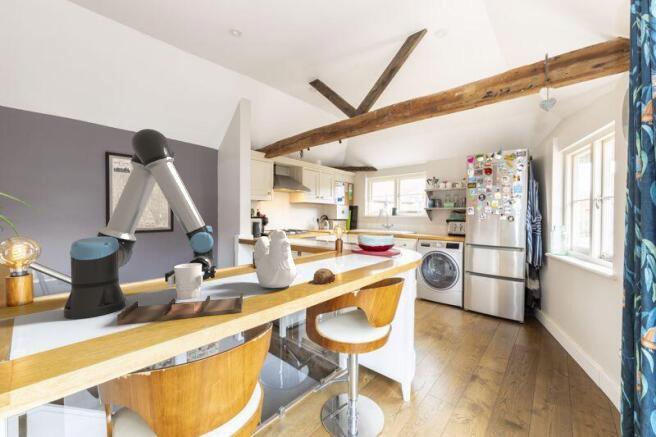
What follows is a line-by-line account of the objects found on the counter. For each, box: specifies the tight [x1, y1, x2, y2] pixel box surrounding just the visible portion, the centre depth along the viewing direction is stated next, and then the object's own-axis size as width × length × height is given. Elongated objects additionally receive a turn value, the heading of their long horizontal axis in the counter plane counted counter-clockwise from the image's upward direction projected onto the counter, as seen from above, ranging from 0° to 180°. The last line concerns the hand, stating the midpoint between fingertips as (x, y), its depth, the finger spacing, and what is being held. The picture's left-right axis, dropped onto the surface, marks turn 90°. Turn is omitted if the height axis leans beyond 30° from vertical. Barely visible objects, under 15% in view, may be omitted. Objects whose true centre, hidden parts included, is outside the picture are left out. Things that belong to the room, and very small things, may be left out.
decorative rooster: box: [252, 228, 298, 289], centre depth 117 cm, size 25×16×25 cm, turn 35°
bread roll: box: [312, 267, 336, 285], centre depth 122 cm, size 10×10×8 cm
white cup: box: [173, 262, 202, 301], centre depth 85 cm, size 8×8×10 cm
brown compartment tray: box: [116, 292, 244, 326], centre depth 85 cm, size 33×12×4 cm, turn 106°
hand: (184, 281), depth 80 cm, fingers closed on white cup, 7 cm apart
